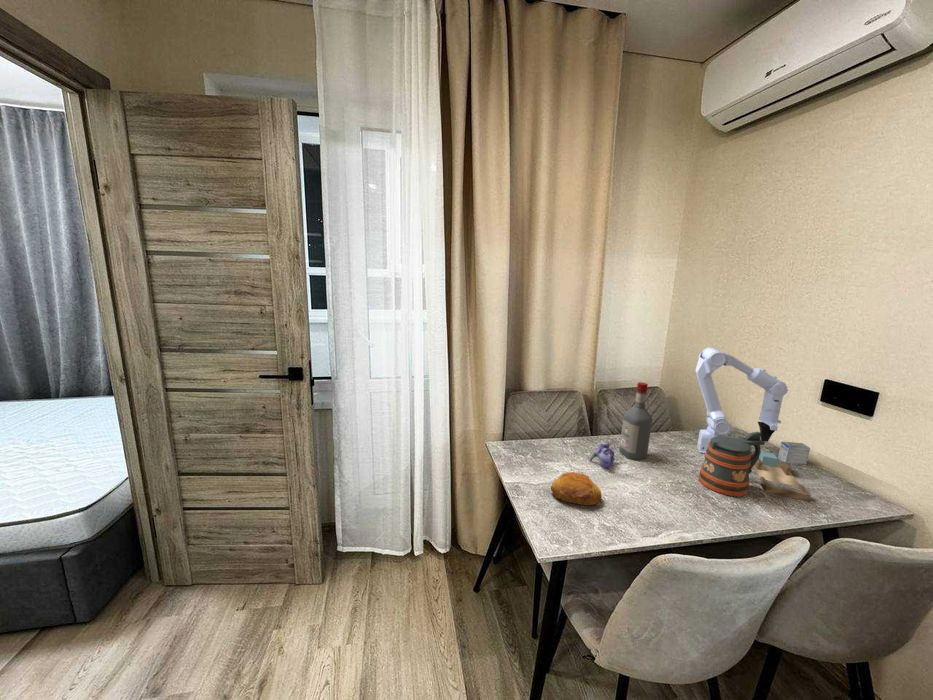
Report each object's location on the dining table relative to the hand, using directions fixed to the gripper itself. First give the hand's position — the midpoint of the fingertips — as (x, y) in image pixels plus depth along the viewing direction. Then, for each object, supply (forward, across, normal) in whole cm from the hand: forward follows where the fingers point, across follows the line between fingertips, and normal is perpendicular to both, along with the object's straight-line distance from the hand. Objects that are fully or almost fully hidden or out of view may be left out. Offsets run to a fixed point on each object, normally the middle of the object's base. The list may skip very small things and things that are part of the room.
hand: (764, 440), depth 155 cm
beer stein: (+8, -30, +17) cm, 36 cm away
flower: (+8, -36, +59) cm, 70 cm away
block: (+6, -8, 0) cm, 10 cm away
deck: (+8, -17, 0) cm, 19 cm away
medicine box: (+8, 0, -10) cm, 13 cm away
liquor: (+8, -22, +48) cm, 53 cm away
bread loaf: (+8, -62, +65) cm, 90 cm away
